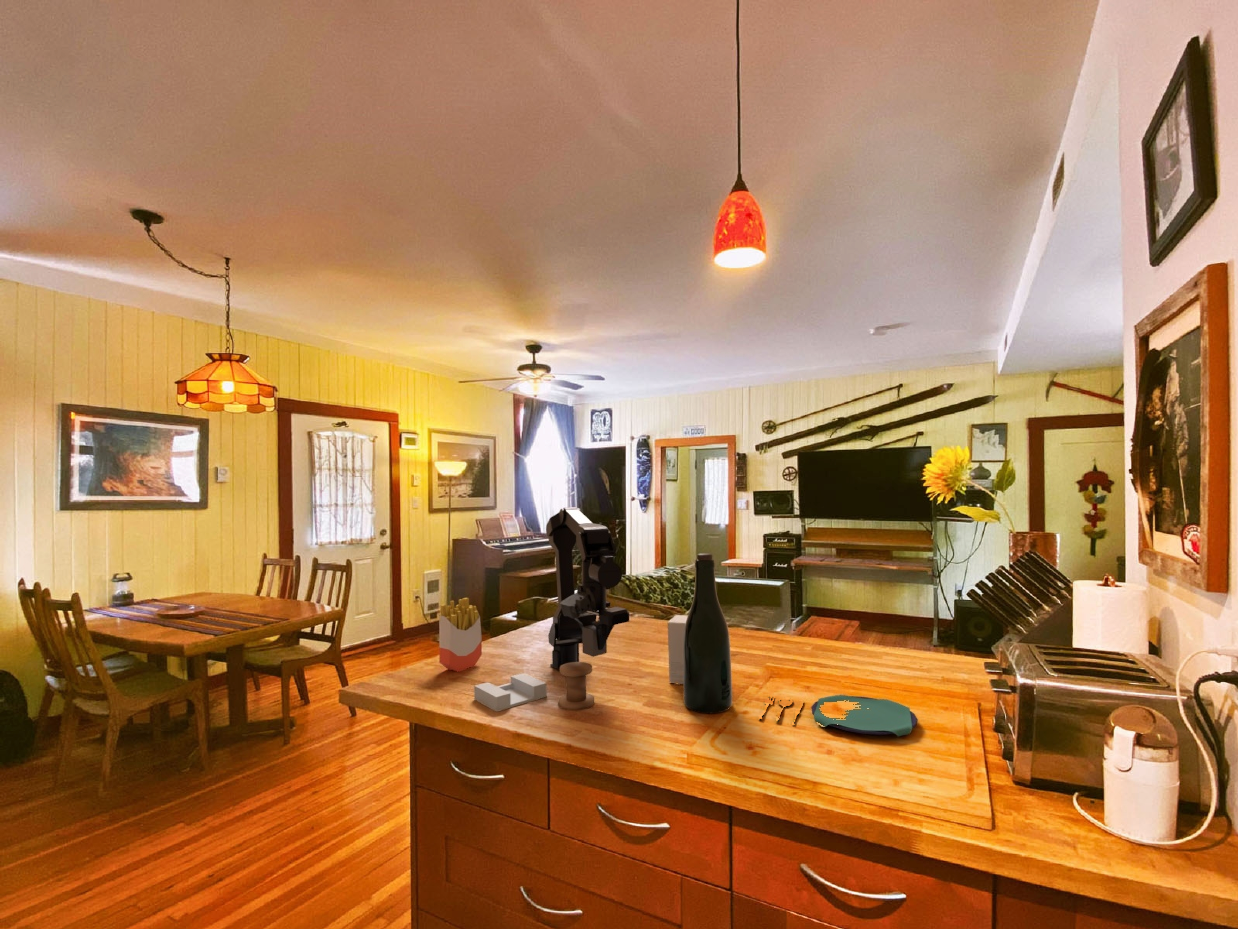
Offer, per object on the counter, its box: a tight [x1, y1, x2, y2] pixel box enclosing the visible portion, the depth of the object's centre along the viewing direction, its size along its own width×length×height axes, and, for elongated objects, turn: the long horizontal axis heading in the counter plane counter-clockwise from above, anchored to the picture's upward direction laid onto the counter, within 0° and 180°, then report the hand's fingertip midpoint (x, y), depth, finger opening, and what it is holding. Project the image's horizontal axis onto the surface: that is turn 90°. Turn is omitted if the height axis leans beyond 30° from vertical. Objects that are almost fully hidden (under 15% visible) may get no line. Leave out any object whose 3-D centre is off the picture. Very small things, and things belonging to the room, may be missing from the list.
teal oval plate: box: [778, 694, 919, 737], centre depth 119 cm, size 20×30×2 cm, turn 66°
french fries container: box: [438, 597, 483, 673], centre depth 156 cm, size 5×11×18 cm, turn 145°
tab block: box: [582, 625, 608, 657], centre depth 135 cm, size 4×4×6 cm
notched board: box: [473, 672, 548, 713], centre depth 133 cm, size 13×10×3 cm
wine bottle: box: [683, 552, 733, 714], centre depth 127 cm, size 10×10×33 cm
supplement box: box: [667, 614, 688, 685], centre depth 144 cm, size 9×9×15 cm
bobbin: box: [557, 661, 595, 711], centre depth 129 cm, size 8×8×8 cm
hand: (594, 647), depth 135 cm, fingers closed on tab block, 4 cm apart
